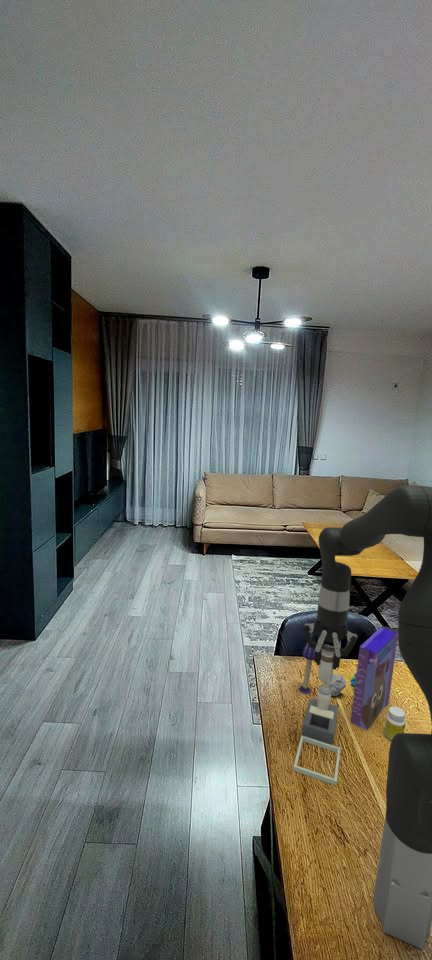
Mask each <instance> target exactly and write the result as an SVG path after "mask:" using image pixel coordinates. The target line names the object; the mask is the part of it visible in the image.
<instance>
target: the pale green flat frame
mask: <svg viewBox="0 0 432 960" xmlns="http://www.w3.org/2000/svg"><path fill="white" fill-rule="evenodd" d="M303 742H304V743H306V744H307V743H308V744H310V745H313V746H317V747H319V748H322V749H325V750H329V751H331V752H335V753H337V754H336V761H335V763H336V764H335V770H334V777H330V776H328V775H325V774H322V773H319V772H316V771H313V770H311V769H307V768H304V767H301V766H299V765H298V764H299V763H298V762H299V759H300V754H301V751H302V747H303ZM341 749H342V748H341V747H339V746H335V745H331V744H328V743H325V742H322V741H319V740H316V739H312V738H309V737H306V736H303V735H302V734H301V735H300V739H299V743H298V747H297V751H296V755H295V760H294V764H293V767H292V768H293V769H292V771H294V772H296V773H299V774H302V775H304V776H308V777H311V778H314V779H316V780H320V781H322V782H325V783H328V784H331V785H333V786H337V784H338V783H337V782H338V772H339V765H340V764H339V763H340V756H341Z"/></svg>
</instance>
